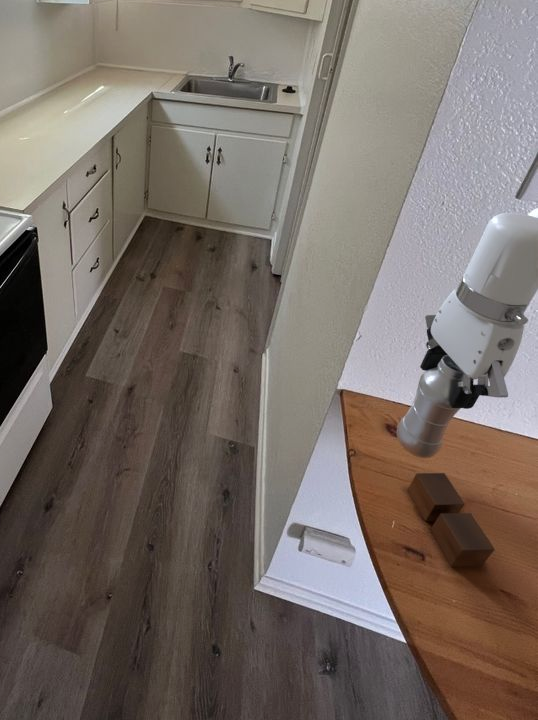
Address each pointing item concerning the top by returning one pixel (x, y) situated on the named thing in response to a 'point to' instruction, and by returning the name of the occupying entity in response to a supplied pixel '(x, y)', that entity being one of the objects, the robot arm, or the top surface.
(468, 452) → the top surface
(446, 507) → the walnut block
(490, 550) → the walnut block
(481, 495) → the top surface
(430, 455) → the silver bottle
